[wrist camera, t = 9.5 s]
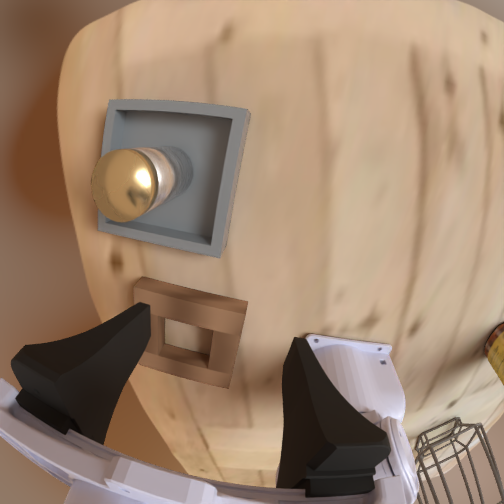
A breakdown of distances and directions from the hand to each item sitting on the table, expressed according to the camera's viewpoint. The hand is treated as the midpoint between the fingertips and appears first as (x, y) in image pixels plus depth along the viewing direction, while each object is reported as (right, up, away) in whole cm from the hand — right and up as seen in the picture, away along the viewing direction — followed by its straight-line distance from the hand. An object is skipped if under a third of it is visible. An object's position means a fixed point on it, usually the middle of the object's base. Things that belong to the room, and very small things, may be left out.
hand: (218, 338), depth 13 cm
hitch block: (-5, -4, +13) cm, 14 cm away
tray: (-5, +10, +8) cm, 14 cm away
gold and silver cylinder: (-5, +10, +7) cm, 13 cm away
